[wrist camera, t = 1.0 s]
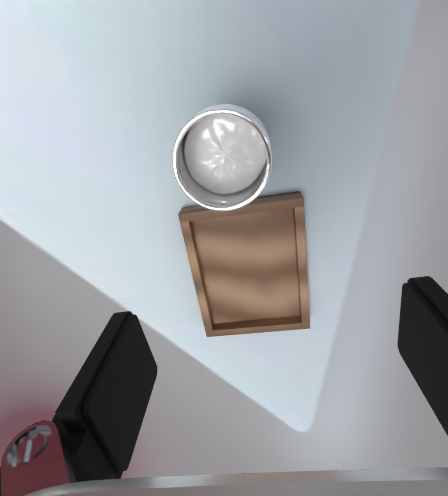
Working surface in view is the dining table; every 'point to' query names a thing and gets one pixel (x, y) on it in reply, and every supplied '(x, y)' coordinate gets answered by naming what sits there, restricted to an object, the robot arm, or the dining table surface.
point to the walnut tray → (249, 265)
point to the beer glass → (222, 157)
